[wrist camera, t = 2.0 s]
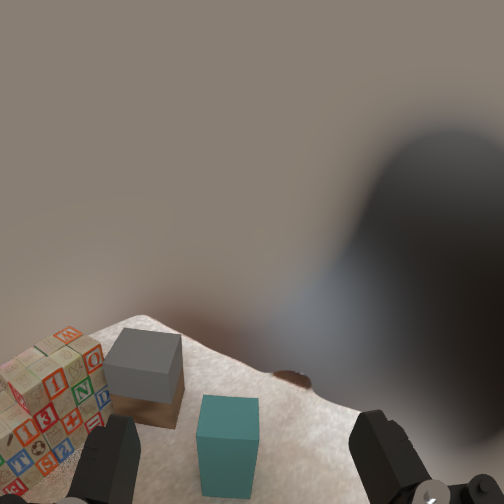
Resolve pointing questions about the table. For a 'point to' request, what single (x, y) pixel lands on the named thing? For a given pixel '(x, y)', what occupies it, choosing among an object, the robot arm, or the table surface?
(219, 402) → the teal pillar
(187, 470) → the table surface
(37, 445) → the stack of blocks
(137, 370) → the tower top block
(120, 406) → the tower base block
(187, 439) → the table surface
